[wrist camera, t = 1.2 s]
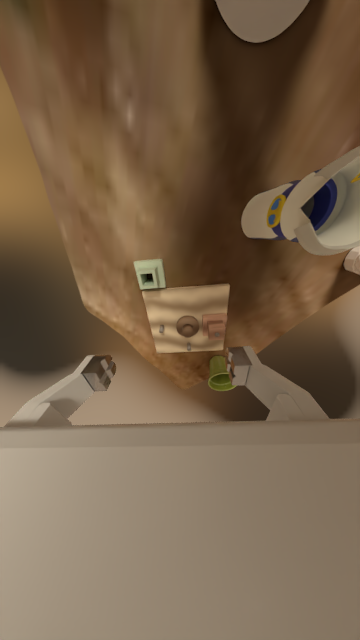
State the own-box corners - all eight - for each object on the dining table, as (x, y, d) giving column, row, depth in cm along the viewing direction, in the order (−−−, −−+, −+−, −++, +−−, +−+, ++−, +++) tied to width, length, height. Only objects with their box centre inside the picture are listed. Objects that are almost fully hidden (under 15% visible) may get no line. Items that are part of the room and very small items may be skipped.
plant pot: (208, 371, 55) (212, 393, 48) (201, 355, 50) (204, 377, 43) (232, 365, 53) (240, 387, 45) (227, 348, 48) (235, 370, 41)
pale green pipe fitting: (135, 261, 33) (128, 265, 29) (162, 258, 33) (159, 263, 29) (142, 287, 37) (136, 294, 32) (166, 285, 36) (164, 292, 32)
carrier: (143, 290, 37) (136, 301, 31) (228, 283, 36) (236, 294, 30) (157, 350, 49) (154, 366, 43) (221, 346, 48) (227, 363, 42)
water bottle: (235, 243, 31) (346, 274, 10) (243, 191, 26) (490, 37, 5) (273, 242, 30) (473, 270, 9) (289, 189, 26) (748, 15, 5)
